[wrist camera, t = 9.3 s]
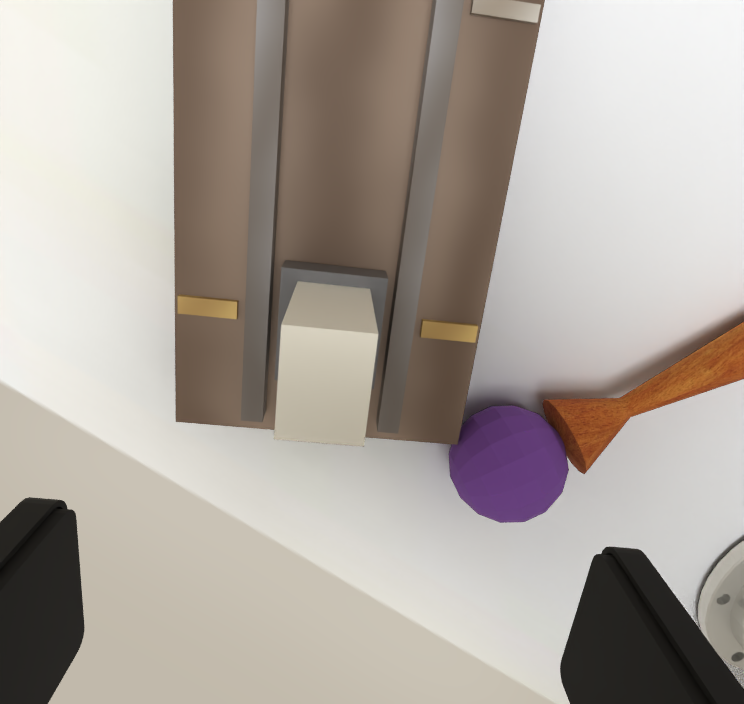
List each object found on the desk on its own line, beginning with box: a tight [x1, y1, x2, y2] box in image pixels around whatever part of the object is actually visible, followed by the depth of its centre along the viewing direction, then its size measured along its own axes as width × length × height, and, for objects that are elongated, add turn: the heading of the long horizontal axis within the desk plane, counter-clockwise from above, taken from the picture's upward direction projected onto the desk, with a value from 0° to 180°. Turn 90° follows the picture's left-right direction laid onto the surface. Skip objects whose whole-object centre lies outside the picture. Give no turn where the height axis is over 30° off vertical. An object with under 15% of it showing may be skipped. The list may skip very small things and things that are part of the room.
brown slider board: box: [173, 0, 545, 445], centre depth 24 cm, size 14×22×4 cm, turn 173°
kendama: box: [449, 322, 744, 522], centre depth 28 cm, size 6×6×20 cm
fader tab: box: [274, 260, 388, 447], centre depth 21 cm, size 4×5×8 cm
